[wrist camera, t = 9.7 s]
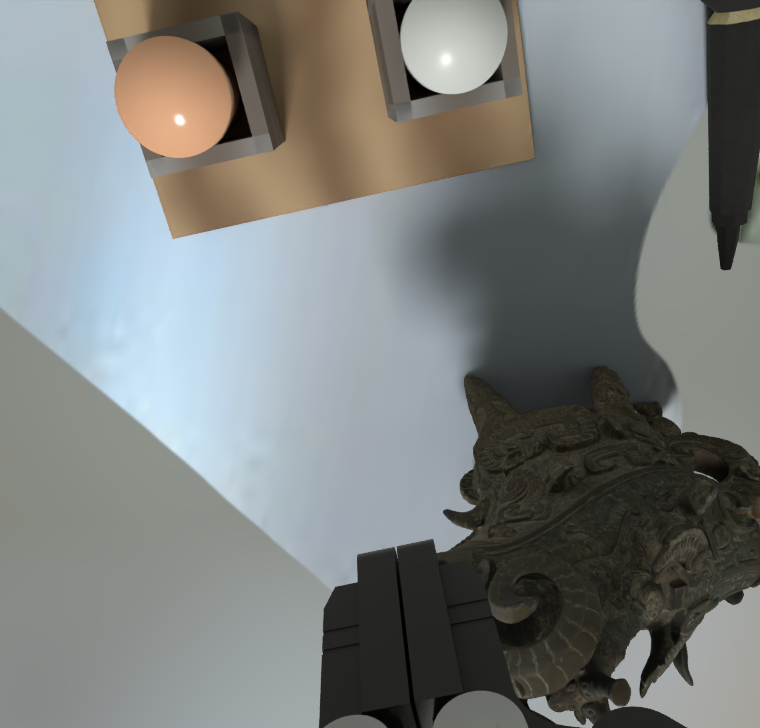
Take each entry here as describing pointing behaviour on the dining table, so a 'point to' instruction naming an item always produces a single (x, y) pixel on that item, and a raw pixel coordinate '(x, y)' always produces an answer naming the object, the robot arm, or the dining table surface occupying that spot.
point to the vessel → (601, 538)
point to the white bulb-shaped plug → (453, 43)
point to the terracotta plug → (176, 96)
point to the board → (320, 107)
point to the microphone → (732, 116)
